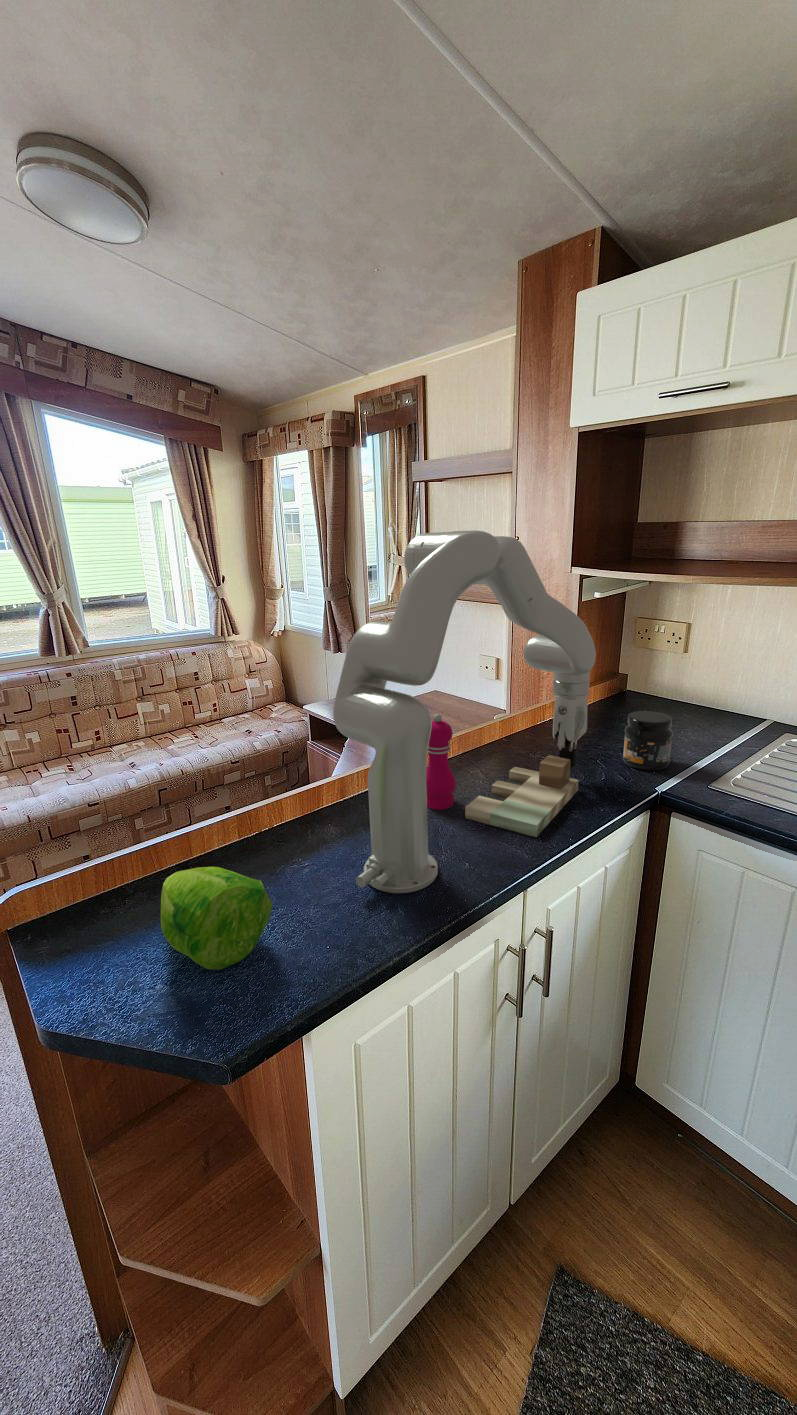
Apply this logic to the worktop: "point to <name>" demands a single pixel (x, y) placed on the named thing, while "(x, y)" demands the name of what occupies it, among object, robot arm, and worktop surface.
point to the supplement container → (648, 740)
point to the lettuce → (213, 915)
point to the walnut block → (554, 772)
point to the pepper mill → (439, 766)
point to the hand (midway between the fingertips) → (566, 765)
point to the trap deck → (521, 803)
